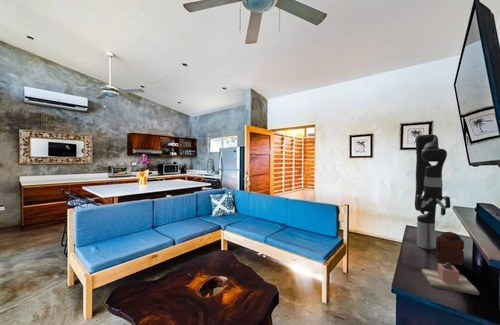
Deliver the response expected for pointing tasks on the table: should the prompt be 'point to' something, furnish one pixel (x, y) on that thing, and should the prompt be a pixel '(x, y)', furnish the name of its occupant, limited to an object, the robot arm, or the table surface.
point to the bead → (448, 274)
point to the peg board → (437, 282)
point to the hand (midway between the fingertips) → (432, 214)
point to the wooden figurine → (450, 248)
